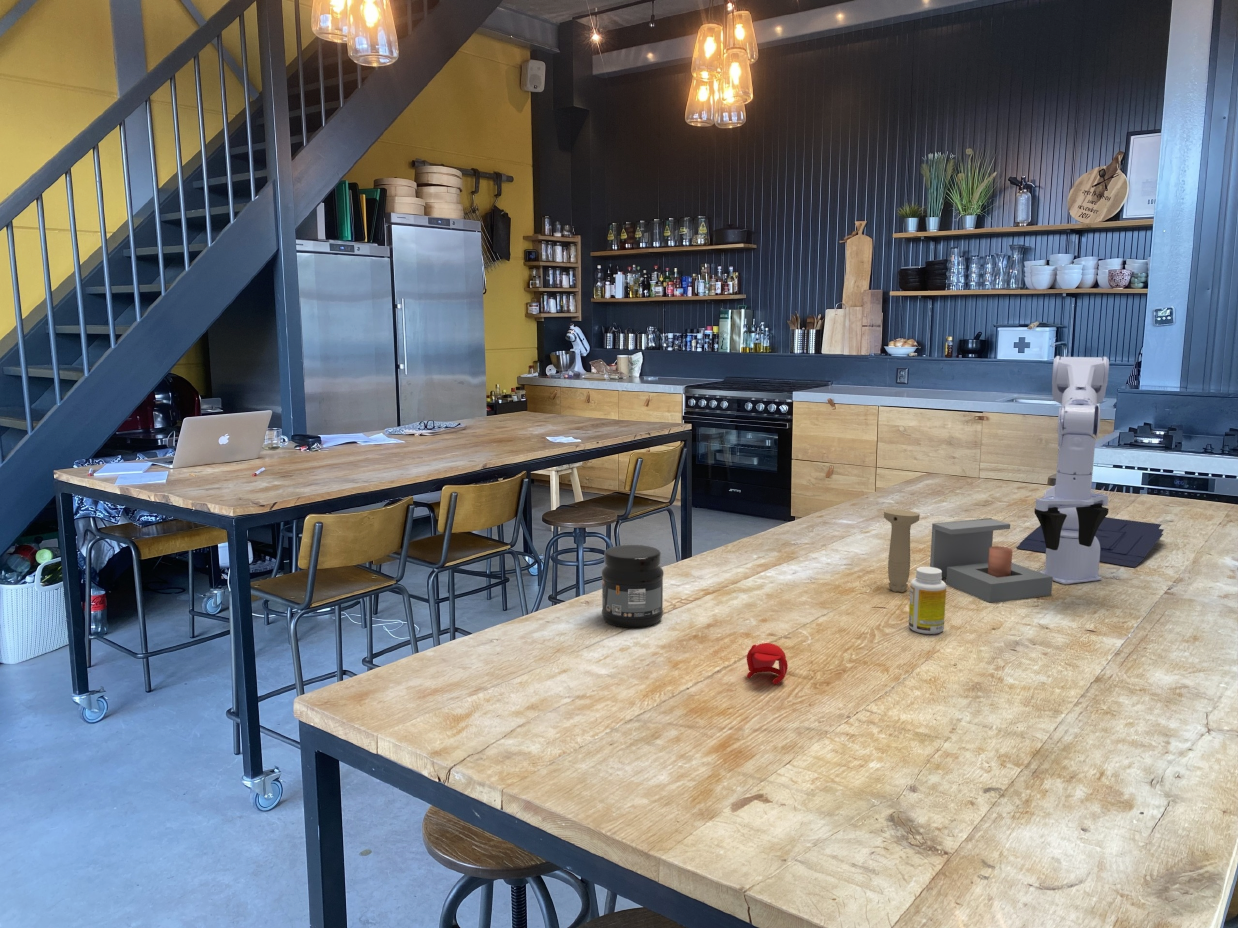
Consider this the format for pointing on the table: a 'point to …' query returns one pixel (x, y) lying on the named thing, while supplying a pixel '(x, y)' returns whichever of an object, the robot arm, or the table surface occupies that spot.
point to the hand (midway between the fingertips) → (1068, 547)
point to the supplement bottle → (927, 601)
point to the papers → (1112, 540)
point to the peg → (1000, 561)
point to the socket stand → (981, 562)
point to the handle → (899, 547)
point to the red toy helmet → (767, 660)
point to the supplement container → (632, 586)
